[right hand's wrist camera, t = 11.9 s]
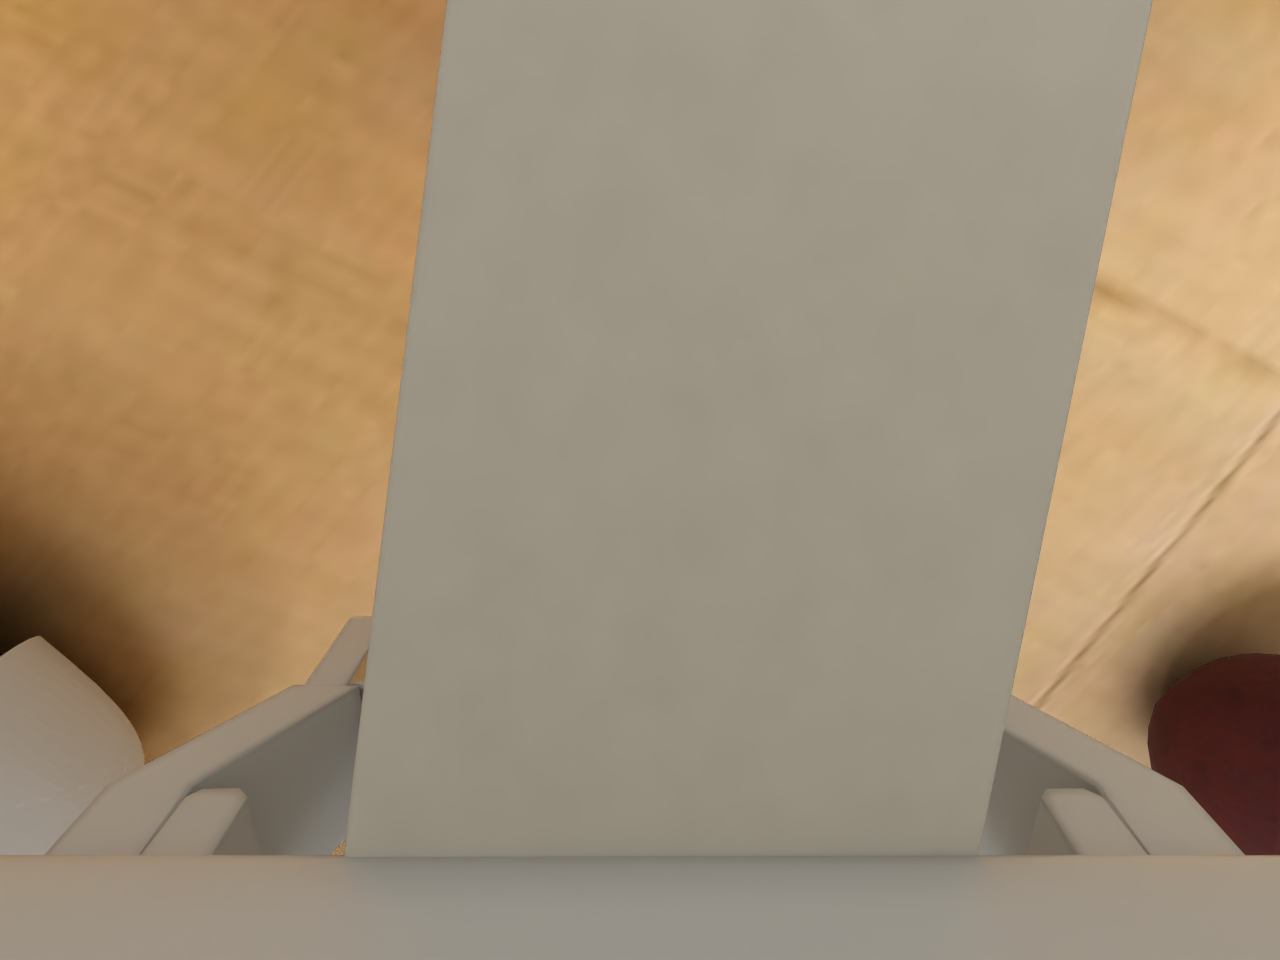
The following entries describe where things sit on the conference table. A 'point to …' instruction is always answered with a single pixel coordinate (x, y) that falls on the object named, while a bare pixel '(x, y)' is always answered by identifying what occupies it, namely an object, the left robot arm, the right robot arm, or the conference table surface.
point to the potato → (1226, 745)
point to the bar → (731, 420)
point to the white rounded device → (54, 746)
